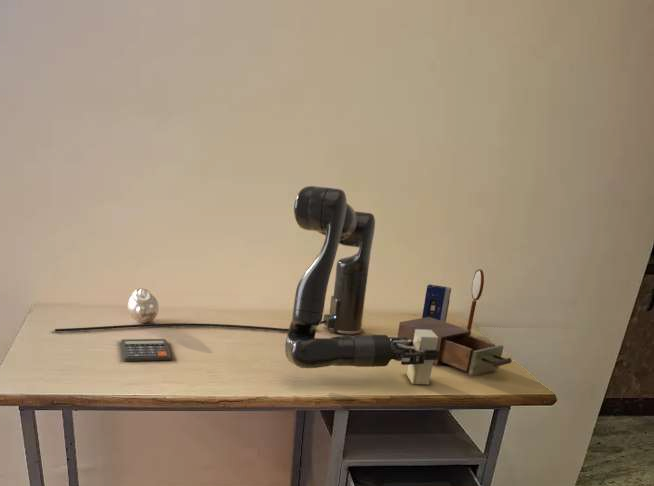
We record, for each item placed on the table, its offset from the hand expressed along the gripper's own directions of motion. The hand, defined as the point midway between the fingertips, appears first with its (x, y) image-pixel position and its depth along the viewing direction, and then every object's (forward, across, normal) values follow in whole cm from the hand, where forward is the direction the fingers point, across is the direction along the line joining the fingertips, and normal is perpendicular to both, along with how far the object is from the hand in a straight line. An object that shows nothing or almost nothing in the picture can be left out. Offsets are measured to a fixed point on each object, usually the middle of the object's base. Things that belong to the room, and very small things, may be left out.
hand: (431, 350), depth 172 cm
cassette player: (+23, +48, +8) cm, 54 cm away
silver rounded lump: (-67, +51, +8) cm, 85 cm away
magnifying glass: (+28, +34, +8) cm, 45 cm away
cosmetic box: (-2, 0, +8) cm, 8 cm away
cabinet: (+10, +20, +8) cm, 24 cm away
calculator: (-68, +25, +8) cm, 73 cm away
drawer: (+16, +7, +7) cm, 19 cm away
